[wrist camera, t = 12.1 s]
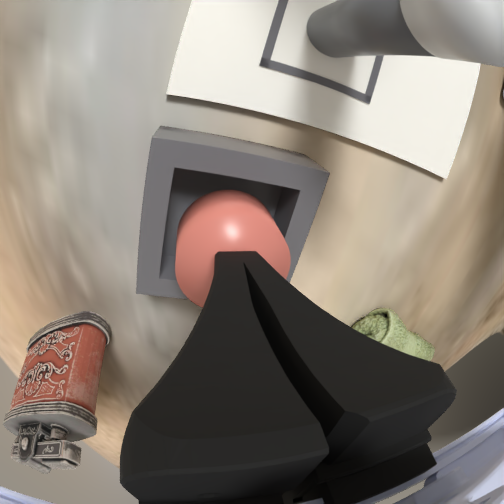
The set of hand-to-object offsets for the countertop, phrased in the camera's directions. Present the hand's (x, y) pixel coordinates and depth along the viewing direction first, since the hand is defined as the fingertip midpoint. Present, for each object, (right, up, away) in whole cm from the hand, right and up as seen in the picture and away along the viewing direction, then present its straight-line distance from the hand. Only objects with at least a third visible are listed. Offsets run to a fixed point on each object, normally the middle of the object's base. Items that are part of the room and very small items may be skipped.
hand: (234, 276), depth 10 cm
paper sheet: (+6, +12, +1) cm, 13 cm away
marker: (+4, +11, +1) cm, 12 cm away
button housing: (-1, +3, +5) cm, 6 cm away
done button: (0, +1, +2) cm, 3 cm away
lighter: (-12, -5, +8) cm, 15 cm away
